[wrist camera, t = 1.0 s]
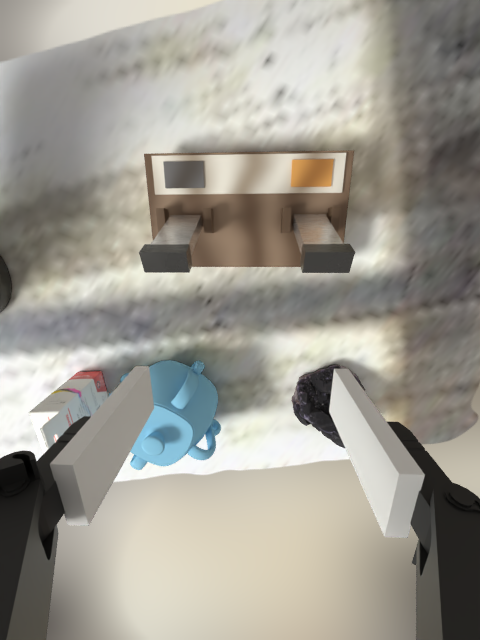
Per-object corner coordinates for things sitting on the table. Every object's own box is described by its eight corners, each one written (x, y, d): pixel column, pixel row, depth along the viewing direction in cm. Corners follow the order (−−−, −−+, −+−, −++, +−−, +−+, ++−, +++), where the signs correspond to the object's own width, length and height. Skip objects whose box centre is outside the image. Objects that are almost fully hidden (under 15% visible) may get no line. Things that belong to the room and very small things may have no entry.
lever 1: (171, 229, 36) (144, 272, 27) (168, 212, 34) (139, 252, 26) (204, 229, 36) (189, 272, 27) (203, 212, 34) (186, 252, 25)
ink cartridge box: (76, 371, 49) (7, 425, 35) (102, 370, 49) (43, 424, 35) (87, 409, 52) (27, 474, 38) (112, 409, 52) (60, 474, 38)
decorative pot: (127, 355, 48) (80, 400, 35) (214, 349, 47) (200, 394, 34) (145, 428, 53) (110, 492, 40) (224, 425, 52) (215, 489, 39)
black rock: (290, 360, 48) (294, 396, 38) (370, 359, 46) (394, 397, 37) (291, 417, 53) (294, 461, 44) (362, 419, 51) (381, 465, 42)
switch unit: (166, 262, 42) (150, 268, 36) (157, 163, 38) (137, 149, 31) (330, 263, 41) (345, 268, 35) (340, 161, 37) (360, 145, 30)
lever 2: (289, 228, 35) (302, 272, 26) (291, 212, 34) (305, 252, 25) (324, 228, 35) (349, 272, 26) (328, 211, 34) (354, 252, 25)
